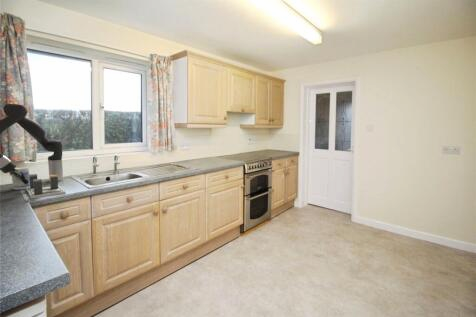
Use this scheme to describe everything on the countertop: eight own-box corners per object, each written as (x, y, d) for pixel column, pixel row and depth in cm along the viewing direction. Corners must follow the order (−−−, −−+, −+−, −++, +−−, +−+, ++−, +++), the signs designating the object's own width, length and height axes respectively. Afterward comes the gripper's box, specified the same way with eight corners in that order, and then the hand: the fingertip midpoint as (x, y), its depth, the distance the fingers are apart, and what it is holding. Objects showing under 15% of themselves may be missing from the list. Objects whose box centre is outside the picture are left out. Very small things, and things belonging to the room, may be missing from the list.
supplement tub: (28, 189, 181) (26, 168, 179) (10, 190, 177) (9, 169, 175) (32, 186, 190) (30, 166, 188) (15, 187, 185) (13, 167, 184)
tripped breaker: (50, 187, 178) (49, 175, 177) (57, 186, 181) (56, 174, 180) (51, 188, 176) (50, 176, 175) (58, 187, 178) (57, 175, 177)
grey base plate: (26, 189, 179) (25, 174, 178) (57, 186, 191) (56, 171, 190) (31, 198, 159) (29, 181, 158) (65, 193, 171) (64, 177, 170)
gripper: (14, 159, 158) (36, 179, 168) (5, 160, 165) (27, 179, 175) (2, 168, 153) (26, 187, 163) (-6, 168, 160) (17, 187, 170)
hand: (27, 183), depth 169 cm, fingers closed
